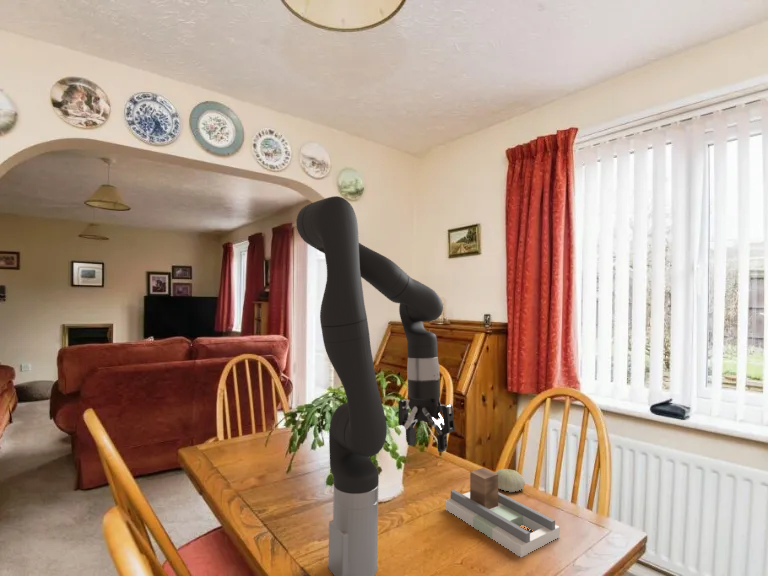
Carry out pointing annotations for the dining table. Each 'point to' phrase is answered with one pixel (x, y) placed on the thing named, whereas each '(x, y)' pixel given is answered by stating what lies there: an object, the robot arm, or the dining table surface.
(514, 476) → the sea urchin shell
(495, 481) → the walnut block
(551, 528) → the lane deck
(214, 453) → the dining table surface
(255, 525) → the dining table surface
